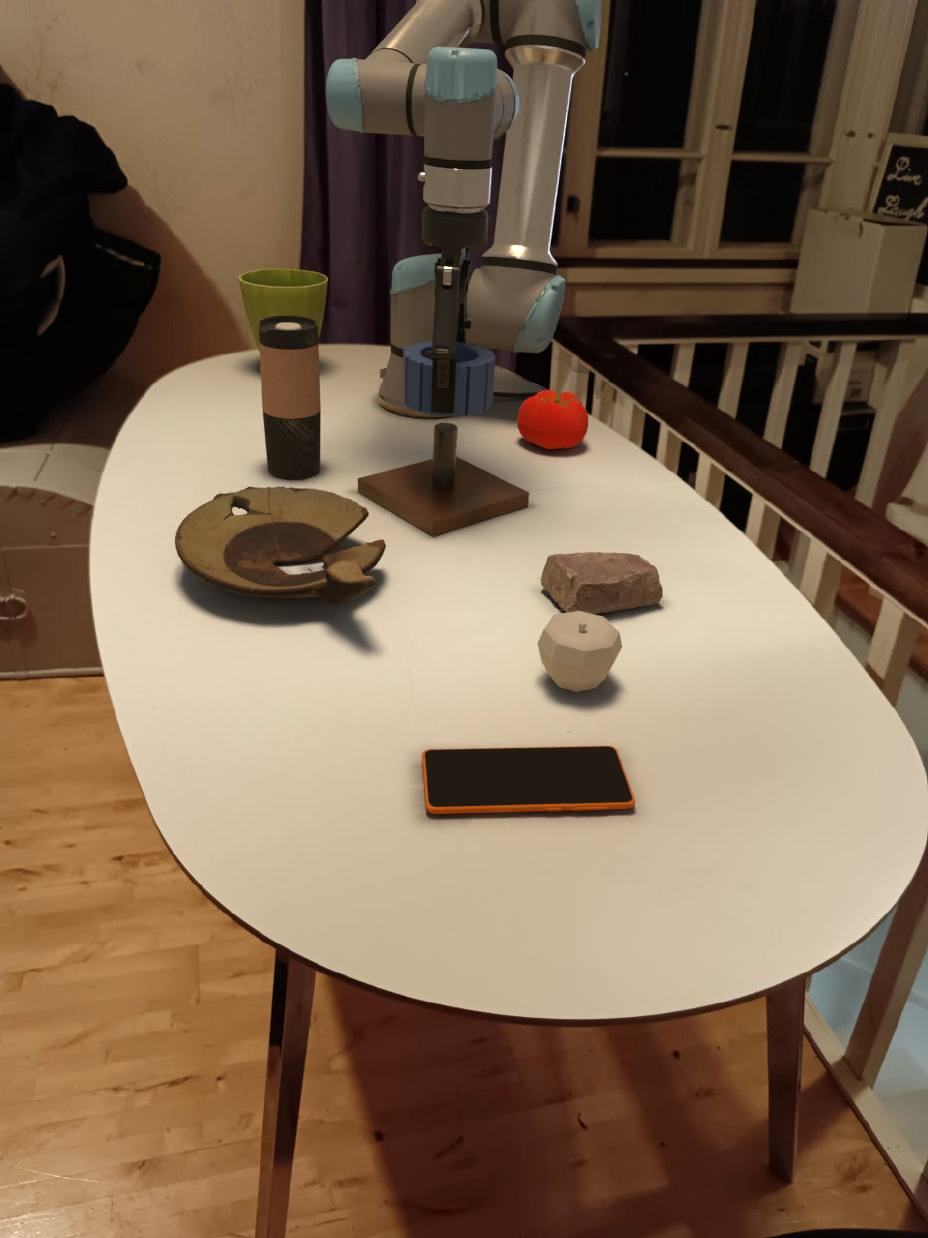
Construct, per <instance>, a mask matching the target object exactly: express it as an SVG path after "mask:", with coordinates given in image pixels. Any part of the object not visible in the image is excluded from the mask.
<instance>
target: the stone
mask: <svg viewBox="0 0 928 1238" xmlns="http://www.w3.org/2000/svg"><path fill="white" fill-rule="evenodd" d="M659 574H660V573H659V570H658V568H657V567H656V565H654V564H651V562H650V561H648V560H647V559H645V558H643V557H641V555H639V554H633V553H628V552H601V551H597V552H594V551H588V552H587V551H586V552H573V553H571V552H570V553H558V554H555V553H554V554H552V555H551V554H549V555H548V556H547V557H546V561H545V564H544V566H543V569H542V573H541V576H540V585H541V586H542V588H543V589H544V590H545V591H547V592H548V594H549V595H550V597H551V598H552V599H553V601H554V602H555V603H557V604H558V607H560V608H561V610H563V611H565V613H568V612H574V611H582V612H586V613H590V614H594V615H598V614H599V615H600V614H604V613H611V612H615V611H620V610H630V609H636V608H641V607H647V606H656V605H657V604H659V603H660V602H661V600H662V598H663V595H664V594H663V593H664V588H663V585H662V584H661V581H660V575H659Z"/></svg>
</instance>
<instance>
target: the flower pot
mask: <svg viewBox="0 0 928 1238" xmlns="http://www.w3.org/2000/svg"><path fill="white" fill-rule="evenodd" d="M328 282H329V278H328V277H327V276H326V275H325V274H323V273H320V272H318V271H317V272H316V271H313V270H312V271H311V270H306V269H295V268H265V269H262V268H261V269H256V270H250V271H246V272H242V273H241V274H240V275H239V276H238V283H239V288H240V292H241V297H242V302H243V305H244V310H245V313H246V318H247V320H248V323H249V327H250V330H251V333H252V336H253V339H254V341H255V345H256V347H257V350H258V352H259V353H260V346H259V327H258V323H259V321H260V320H261V319H264V318H267V317H272V316H283V315H290V316H302V317H307V318H311V319H313V320H315V321H316V322H317V324H318V341H319V340H320V336H321V331H322V326H323V321H324V316H325V311H326V310H325V309H326V301H327V291H328Z"/></svg>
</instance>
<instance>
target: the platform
mask: <svg viewBox="0 0 928 1238" xmlns="http://www.w3.org/2000/svg"><path fill="white" fill-rule="evenodd" d="M458 430H459V428H458V425H457V424H454V423H451V422H438V423H435V424H434V425H433V438H432V439H433V440H432V441H433V443H432V458H431V459H427V460H423V461H419V462H416V463H411V464H407V465H403V466H400V467H396V468H391V469H387V470H384V471H379V472H375V473H373V474H368V475H365V476H360V477H357V493H358V494H361V495H362V496H364V497H365V498H367V499H369V500H370V501H372V502H374V503H375V504H377V505H379V506H381V507H382V508H383V509H385V510H387V511H388V512H391V513H392V514H394V515H396V516H397V517H399V518H401V519H402V520H404V521H406V522H408V523H409V524H410V525H412V526H414V527H416V528H418V529H419V530H421V531H422V532H424V533H426V534H427V535H429V536H431V537H435V536H439V535H441V534H442V535H443V534H445V533H448V532H451V531H455V530H457V529H461V528H464V527H467V526H471V525H474V524H477V523H480V522H483V521H486V520H489V519H490V520H491V519H493V518H496V517H499V516H502V515H505V514H509V513H512V512H516V511H518V510H521V509H524V508H527V507H529V500H530V492H529V491H527V490H525V489H523V488H521V487H519V486H518V485H517V486H516V485H515V484H513V483H511V482H509V481H507V480H505V479H503V478H501V477H498V476H497V475H495V474H493V473H491V472H489V471H487V470H485V469H484V468H483V469H482V468H481V467H479V466H477V465H474V464H472V463H471V462H469V461H466V460H465V459H462V458H461V457H458V456H457V447H458Z"/></svg>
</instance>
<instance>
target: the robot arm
mask: <svg viewBox="0 0 928 1238" xmlns="http://www.w3.org/2000/svg"><path fill="white" fill-rule="evenodd" d="M601 25H602V0H416V1H415V4H414V6H412V7H411V9H410V10H409V11H408V12H407V13H406V14H405V15H404V16H403V17H402V19H400V20H399V22H398V23H397V24H396V25H395V26H394V28H392V30H391V31H390V32H389V33H388V34H387V35H386V36H385V38H384V39H382V41H381V42H380V43H379V44H378V45H377V46H376V47H375V48H374V49H373V50H372V51H371V53H370V54H369V55H368V56H367V57H366V58H365V59H361V58H357V57H352V58H338V59H336V60H335V61H334V62H333V63H331V66H330V67H329V69H328V72H327V77H326V82H325V83H326V84H325V99H326V108H327V112H328V115H329V118H330V121H331V122H332V123H333V124H334V126H335V127H336V128H338V129H341V130H345V131H346V130H347V131H354V132H359V133H360V134H365V133H366V134H367V133H368V134H380V135H381V134H383V135H396V136H409V137H410V136H413V137H423V140H424V141H423V145H424V146H423V171H420V172H419V173H418V174H417V180H418V181H419V182H423V183H424V185H423V187H422V200H423V202H424V203H425V204H427V206H425V207H424V208H423V209H422V211H421V240H422V242H423V243H424V244H426V245H428V246H431V247H438V248H440V249H441V253H431V254H430V253H429V254H422V255H415V256H411V257H407V258H403V259H401V260H399V261H398V262H396V264H395V265H394V266H393V269H392V274H391V289H390V290H389V294H390V355H389V359H388V362H387V365H386V367H384V368H380V369H379V379H382V382H381V383H380V385H379V389H378V403H379V405H380V406H381V407H382V408H383V409H386V410H387V411H389V412H392V413H395V414H398V415H401V416H408V417H414V418H430V419H432V418H433V419H434V418H446V417H445V416H444V414H443V415H441V416H437V415H431V414H425V413H422V411H421V412H418V411H415V410H413V409H411V408H409V407H407V406H406V405H405V404H404V401H403V398H402V396H403V351H404V349H406V348H407V347H409V346H410V345H414V344H417V343H422V342H428V341H430V342H432V350H431V352H430V351H427V355H426V356H427V358H429V359H433V363H432V393H431V412H435V413H447V414H454V402H455V381H456V359H457V358H455V357H456V353H455V349H456V341H457V342H464V343H470V344H474V345H479V346H481V347H484V348H487V349H489V350H491V349H492V350H499V351H506V352H507V351H508V352H513V353H514V354H519V353H527V354H530V353H531V354H539V353H542V352H544V351H545V350H546V349H547V348H548V347H549V345H550V343H551V342H552V339H553V337H554V334H555V332H556V329H557V326H558V323H559V320H560V316H561V313H562V308H563V304H564V296H565V291H566V280H565V278H564V277H562V276H561V275H558V274H557V272H558V262H557V261H556V259H555V258H554V257H553V255H552V254H551V251H550V249H551V241H552V235H553V226H554V220H555V219H554V218H555V213H556V212H555V211H556V205H557V204H556V203H557V196H558V190H559V189H558V188H559V182H560V174H561V167H562V159H563V151H564V144H565V137H566V129H567V121H568V113H569V105H570V99H571V90H572V82H573V78H574V76H575V75H576V74H577V73H578V72H579V71H580V70H582V69H583V68H584V67H585V64H586V58H587V51H588V52H593V51H595V50H597V49H598V47H599V45H600V37H601ZM472 43H482V44H496V45H505V53H504V57H505V59H506V60H507V62H508V64H509V65H510V66H511V67H512V70H513V72H512V73H513V74H512V78H511V77H510V76H509V74H508V73H506V72H504V71H503V70H501V69H499V68H498V58H497V55H496V53H495V52H494V51H493V50H491V49H484V48H471V47H470V48H469V47H467V46H470V44H472ZM503 135H505V143H504V150H503V160H502V169H501V177H500V185H499V193H498V203H497V212H496V220H495V229H494V237H493V244H492V246H491V247H490V248H489V249H487V250H486V251H485V252H484V253H482V256H481V262H480V263H481V264H480V267H479V268H478V267H472V259H469V254H470V250H472V249H473V250H475V249H479V248H482V247H484V246H485V245H486V244H487V242H488V232H489V231H488V230H489V215H490V214H489V213H488V211H487V210H486V209H485V208H487V207H488V206H489V205H490V203H491V190H492V189H491V188H492V176H493V175H492V174H493V173H492V172H493V166H492V159H493V158H492V157H493V145H494V140H499V138H501V137H503ZM439 346H448V347H449V348H444V347H439ZM538 393H539V392H538V391H527V392H507V391H506V392H505V391H495V390H493V397H494V398H495V397H496V398H511V399H521V398H522V399H524V398H529V397H534V396H535V395H536V394H538Z"/></svg>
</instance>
